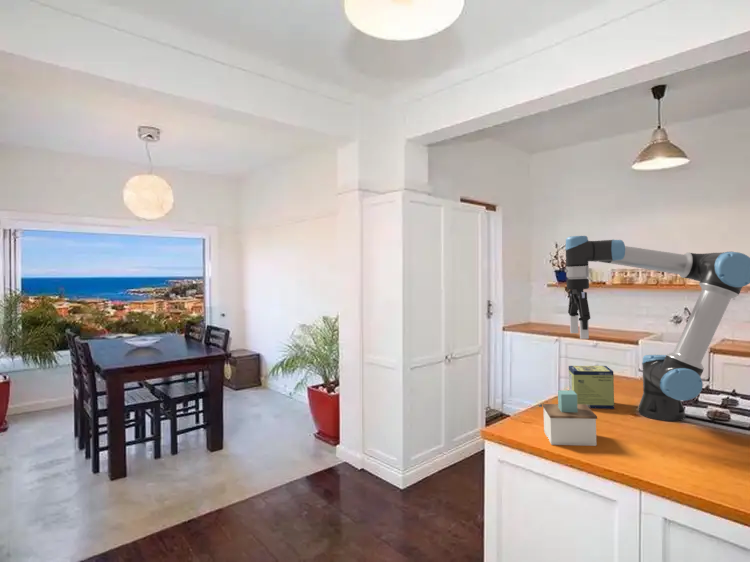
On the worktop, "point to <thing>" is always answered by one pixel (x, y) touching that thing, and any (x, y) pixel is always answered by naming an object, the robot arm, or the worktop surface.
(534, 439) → the worktop surface
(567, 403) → the block
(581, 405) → the lid
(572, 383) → the protein box
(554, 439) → the box
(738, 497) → the worktop surface
